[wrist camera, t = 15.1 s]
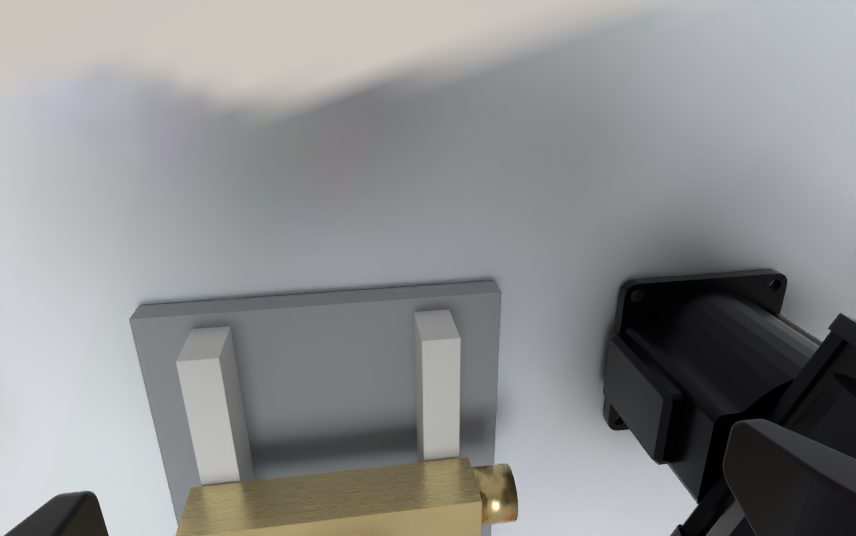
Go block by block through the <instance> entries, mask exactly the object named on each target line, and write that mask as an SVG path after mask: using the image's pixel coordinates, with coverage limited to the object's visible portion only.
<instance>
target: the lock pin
mask: <svg viewBox="0 0 856 536" xmlns="http://www.w3.org/2000/svg"><path fill="white" fill-rule="evenodd" d="M517 516H518V499H517V491H516V486H515V481H514V477H513V474H512V471H511V469H510V467H509V465H508V464H507V463H504V464H496V465H487V466H478V467H471V464H470V461H469V458H468V457H466V458H457V459H448V460H438V461H429V462H420V463H411V464H402V465H393V466H384V467H375V468H366V469H357V470H348V471H339V472H330V473H321V474H312V475H303V476H294V477H285V478H276V479H267V480H258V481H249V482H240V483H230V484H221V485H212V486H203V487H194V488H191V489H190V492H189V495H188V498H187V501H186V505H185V508H184V511H183V514H182V517H181V520H180V523H179V526H178V530H177V533H176V536H481V526H483V525H491V524H499V523H507V522H515V521H516V520H517Z"/></svg>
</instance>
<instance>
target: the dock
mask: <svg viewBox="0 0 856 536" xmlns="http://www.w3.org/2000/svg"><path fill="white" fill-rule="evenodd" d="M500 303H501V292H500V290H499V288H498V287H497V285H496V284H495V282H494V281H481V282H467V283H453V284H439V285H424V286H410V287H396V288H382V289H367V290H353V291H339V292H325V293H311V294H296V295H282V296H268V297H254V298H239V299H225V300H211V301H197V302H182V303H168V304H154V305H140V306H139V307H138V308H137V309H136V311H135V312H134V314H133V315H132V316H131V318H130V319H129V320H130V324H131V329H132V333H133V337H134V341H135V346H136V350H137V354H138V358H139V363H140V367H141V371H142V375H143V380H144V384H145V388H146V392H147V397H148V401H149V405H150V409H151V414H152V418H153V422H154V426H155V430H156V435H157V439H158V443H159V447H160V452H161V456H162V460H163V464H164V469H165V473H166V477H167V481H168V486H169V490H170V494H171V498H172V503H173V507H174V511H175V515H176V520H177V524H178V526H179V523H180V520H181V517H182V514H183V511H184V508H185V505H186V501H187V498H188V495H189V492H190V489H191V488H194V487H203V486H212V485H221V484H230V483H240V482H249V481H258V480H267V479H276V478H285V477H294V476H303V475H312V474H321V473H330V472H339V471H348V470H357V469H366V468H375V467H384V466H393V465H402V464H411V463H420V462H429V461H438V460H448V459H457V458H466V457H468V458H469V461H470V464H471V467H478V466H487V465H494V448H495V424H496V400H497V375H498V351H499V327H500ZM481 536H491V525H483V526H481Z"/></svg>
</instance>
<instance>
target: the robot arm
mask: <svg viewBox="0 0 856 536" xmlns="http://www.w3.org/2000/svg"><path fill="white" fill-rule="evenodd" d="M773 280H774V282H773V284H772V285H771V286H769V284H770V283H771V282H772V281H773ZM786 286H787V279H786V276H784V275H783V274H781V273H779V272H778V271H776V270H771V269H769V270H755V271H741V272H727V273H713V274H699V275H686V276H672V277H658V278H644V279H633V280H629V281H627V282H626V283H624V285H623V286H622V287H621V290H620V293H619V300H618V308H617V316H616V324H615V332H614V334H613V336H612V337H611V339H610V341H609V349H608V357H607V365H606V373H605V381H604V389H603V393H604V395H605V396H606V402H605V410H604V420H605V421H606V423H607V424H608V426H609V427H610V428H611V429H613V430H627V429H630V430H631V432H632V433H633V434H634V436H635V437H636V438H637V440H638V441H639V443H640V444H641V445H642V447H643V448H644V449H645V451H646V452H647V453H648V455H649V456H650V457H651V459H652V460H654V461H655V462H656V463H657V464H658V465H661V464H668V466H669V467H670V468H671V469H672V471H673V472H674V473H675V475H676V476H677V477H678V479H679V480H680V481H681V483H682V484H683V485H684V486H685V488H686V489H687V490H688V492H689V493H690V494H691V496H692V497H693V498H694V500H695V501H696V502H697V503H698V506H697V507H696V508H695V510H694V511H693V512H692V513H691V515H690V516H689V517H688V519H687V520H686V521H685V523H684V524H683V525H680V524H679V525H678V526H677V527H676V529H675V530H674V531H673V533H672V534H671V535H670V536H856V320H854V319H852V318H850V317H848V316H846V315H844V314H841V313H840V314H839V315H838V316H837V318H836V319H835V320H834V321H833V323H832V324H831V325H830V327H829V328H828V329H829V330H831V332H830V333H829V334H828V336H827V337H826V338H825V340H824V341H823V342H821V341H820V340H818V339H817V338H815V337H814V336H812V335H810V334H809V333H807V332H806V331H804V330H803V329H801V328H800V327H798V326H796V325H795V324H793V323H792V322H790V321H789V320H787V319H785V318H784V317H782V316H781V315H779V314H780V310H781V306H782V302H783V298H784V294H785V290H786ZM636 290H639V292H638V294H637V295H636V296H635V297H633V298H631V295H632V293H633V292H634V291H636ZM619 415H620V417H619V418H618V419H615V418H616V417H617V416H619ZM4 536H109V535H108V532H107V528H106V525H105V522H104V518H103V515H102V512H101V508H100V505H99V502H98V499H97V497H96V495H95V494H94V493H93V492H90V491H81V492H72V493H63V494H59V495H57V496H55V497H54V498H52V499H51V500H49V501H48V502H47V503H46V504H44V505H43V506H42V507H40V508H39V509H38V510H36V511H35V512H34V513H33V514H31V515H30V516H29V517H27V518H26V519H25V520H24V521H22V522H21V523H20V524H18V525H17V526H16V527H15V528H13V529H12V530H11V531H9V532H8V533H7V534H5V535H4Z"/></svg>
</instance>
